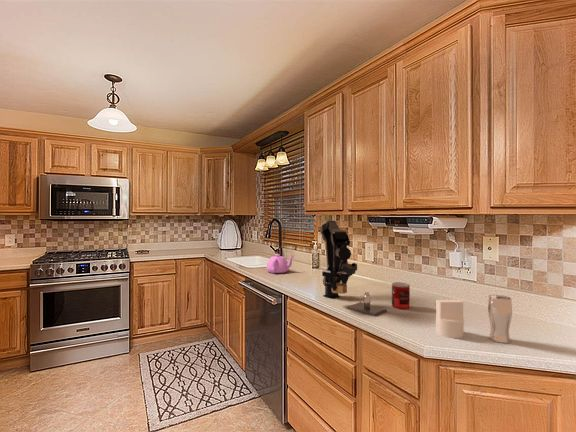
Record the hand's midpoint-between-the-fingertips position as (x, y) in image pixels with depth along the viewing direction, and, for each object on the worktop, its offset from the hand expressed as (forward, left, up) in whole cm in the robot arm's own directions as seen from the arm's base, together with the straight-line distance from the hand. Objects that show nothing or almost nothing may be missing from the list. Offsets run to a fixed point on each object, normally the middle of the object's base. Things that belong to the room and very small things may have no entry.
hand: (339, 289), depth 146 cm
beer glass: (+63, +10, -8) cm, 64 cm away
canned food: (+21, +20, -8) cm, 30 cm away
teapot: (-84, +35, -8) cm, 92 cm away
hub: (0, 0, -1) cm, 1 cm away
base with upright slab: (+49, +3, -8) cm, 50 cm away
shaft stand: (+13, +4, -8) cm, 16 cm away
